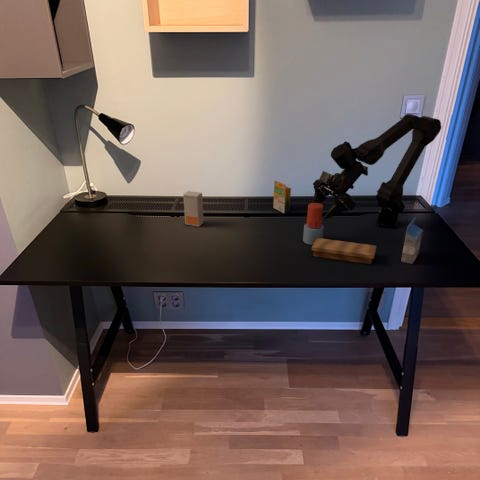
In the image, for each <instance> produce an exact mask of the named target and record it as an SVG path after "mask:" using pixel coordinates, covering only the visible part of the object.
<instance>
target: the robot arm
mask: <svg viewBox="0 0 480 480" xmlns="http://www.w3.org/2000/svg"><path fill="white" fill-rule="evenodd" d="M441 130H442V122H441V120H440V119H438V118H435V117H430V116H427V115H423V116H418V115H416V114H412V113H407V114H405V115H403V117H402V118H401V119H400V120H399V121H397V122H395V124H393V125H392V126H390V127H389V128H388V129H387V130H385V131H384V132H383V133H382V134H380V135H379V136H378V137H375V138H372V139H368V140H366V141H364V142H362V143H361V144H359V145H358V146H357V147H354V148H353V147H352V145H351V143H350V142H348V141H346V140H344V142H343V143H340V144H338V145H337V146H335V147H333V149H332V150H331V152H330V158H331V159H332V160H333V161H334V163H335V164H336V165H337V166H338V168H339V169H341V170H342V171H341V172H340V173H339V172H336V173H334V174H332V173H329V172H327V171H325V170H322V172H321V175H320V176H319V178H318V179H315V181H314V182H313V183H312V186H313V189H314V195H313V197H312V200H311V202H310V204H311V203H320V204H322V203H323V202H324V201H326V200H327V197H328V196H331V197H333V198H334V200H333V204H332V205H331V207H330V208H329V209H328V211H327V212H326V213H325V215H324V217H323V218H324V219H325V220H328V219H330V218H332V217H334V216H337V215H339V214H342V213H344V212H349V210H350V211H351V212H352V211H353V210H354V208H356V203H357V202H356V200H354V198H353V197H352V196H351V195H350V194H349V193H348V191H349V190H350V189H351V190H353V189H354V188H355V185H354V184H355V183H356V182H357V180H358V179H359V178H360V177H361V176H362V175H363V176H366V177H367V176H368V175H369V166H373V165H375V164H377V162H378V161H379V160H381V159H382V158H383V156H384V154H385V152H386V150H388V148H390V147H391V146H392V145H394V144H396V142H398V141H399V140H401V139H402V138H403V137H404V136H406V135H407V134H408V133H410V132H411V142H410V144H409V146H408V147H407V149H406V151H405V152H404V154H403V156H402V158H401V159H400V162H399V164H398V165H397V167H396V169H395V171H394V172H393V175H392V176H391V178H390V179H389V180H388V181H387V182H385V181H382V183H381V184H380V186H379V188H378V189H377V190H376V195H375V198H376V201H377V206H378V207H380V208H381V209H380V210H379V211H378V217H377V226H378V227H380V228H388V229H389V228H390V229H396V228H397V225H398V218H399V214H401V213H402V212H404V210H405V208H406V205H405V204H404V202H403V201H402V198H403V196H404V186H405V183H406V182H407V179H408V178H409V176H410V175H411V173H412V171H413V169H414V167H415V165H416V164H417V162H418V160H419V159H420V156H421V155H422V153H423V151H424V150H425V148H426V146H428V145H430V144H431V143H432V142H434V141H435V139H436V138H437V136H438V135H439V134H440V132H441ZM364 164H366V165H369V166H366V165H364Z"/></svg>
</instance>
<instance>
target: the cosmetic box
mask: <svg viewBox="0 0 480 480" xmlns="http://www.w3.org/2000/svg"><path fill="white" fill-rule="evenodd" d="M182 197H183V209H184V210H183V212H184V224H185V225H188V226H193V227H198V228H199V227H201V226H202V225H203V224H204V222H205V221H204V201H203V193H202V192H197V191H191V190H187V191H186V192H184V193H183V195H182Z"/></svg>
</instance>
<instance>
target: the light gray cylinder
mask: <svg viewBox="0 0 480 480" xmlns="http://www.w3.org/2000/svg"><path fill="white" fill-rule="evenodd" d="M306 224H307V223H304V225H303V233H302V236H303V237H302V242H303V243H304V244H306V245H308V246H309V245H310V246H311V245H312V246H313V244H314V242H315V240H316V238H321V239H324V231H325V229H324V228H325V225H324V224H322V225H321V227H318V228H311V227H308V226H307V225H306Z"/></svg>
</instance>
